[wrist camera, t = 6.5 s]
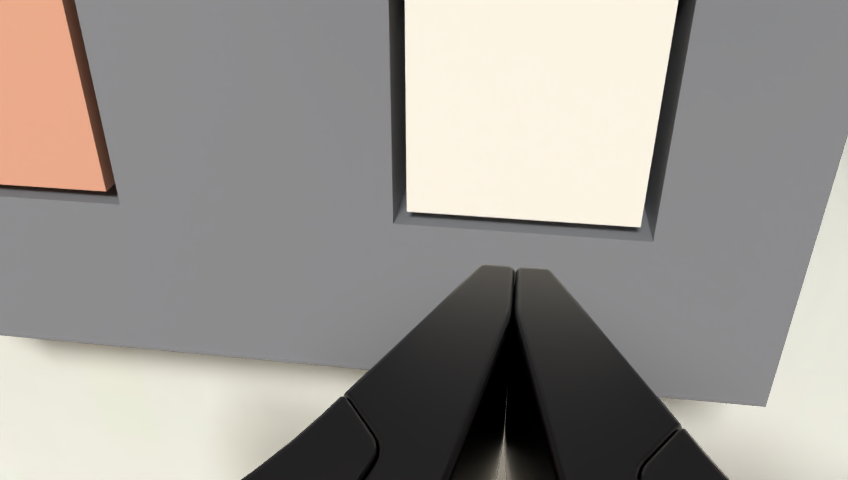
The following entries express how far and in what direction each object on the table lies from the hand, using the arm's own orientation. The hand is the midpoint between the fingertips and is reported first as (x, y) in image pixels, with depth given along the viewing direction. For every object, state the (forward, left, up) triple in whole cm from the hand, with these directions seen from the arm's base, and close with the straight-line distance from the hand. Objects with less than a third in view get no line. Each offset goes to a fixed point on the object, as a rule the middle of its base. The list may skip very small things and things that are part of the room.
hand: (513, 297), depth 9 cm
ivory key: (0, 0, -11) cm, 11 cm away
